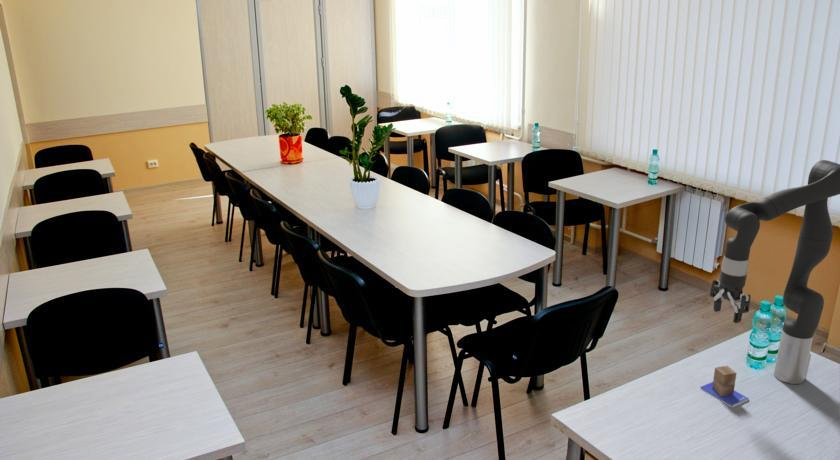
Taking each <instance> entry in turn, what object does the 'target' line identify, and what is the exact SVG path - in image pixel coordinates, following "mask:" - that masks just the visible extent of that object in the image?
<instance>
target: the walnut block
mask: <svg viewBox="0 0 840 460" xmlns="http://www.w3.org/2000/svg"><path fill="white" fill-rule="evenodd" d="M736 380H737V372H736V371H735V370H734V369H732V368H731V367H730V366H728V365H724V366H718V367H715V368H714V373H713V381H712V382H713V387H712V389H713V390H714V391H715V392H717V393H718V394H719V395H720V396H726V395H731V394H734V391H735V385H736Z"/></svg>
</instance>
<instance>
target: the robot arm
mask: <svg viewBox="0 0 840 460" xmlns="http://www.w3.org/2000/svg"><path fill="white" fill-rule="evenodd" d="M838 195H840V163H837V162H835V161H831V160H825V159H821V160H819V161H816V162H815V163H814V164H813V166H812V168H810V172H809V173H808V179H807V184H806V185H801V186H797V187H791V188H785V189H782V190H779V191H775V192H774V193H771V194H769V195H767V196H765V197H763V198H761V199H759V200H755V201H750V202H746V203H742V204H739V205H736V206H734V207H732V208H730V209H729V210H728V211H727V213H726V214H725V217H724V222H725V225H726V226H727V227H728V228H729V229H732V230H734V231H735V232H737V234H736V235H735V236H731V237H729V238H728V239H727V240H726V243H725V250H724V254H723V259H722V261H721V262H722V263H721V268H720V273H719V274H720V275H719V279H713V280H712V282H711V283H712V284H711V287H710V293H709V296H710V297H712V299H713V300H714V302H713V311H714V312H715V313H717V312H720V311H721V309H722V304H723V300H727V301H728V302H730V305H731V306H732V307H733V309H734V313H733V321H732V323H734V324H738V323H740V322H742V317H743V314H745V313H749V311H750V304H751V303H750V302H751V294H749V293H748V294H745V293H744V291H743V289H744V287H745V286H746V282H747V276H748V270H749V258H750V254H751V253H750V252H751V247H752V245H753V243H754V242H755V240H756V238H757V236H758V233H759V231H760V228H761V222H760V221H764V222H769V221H773V220H774V219H777V218H779V217H780V216H783V215H784V214H787V213H788V212H790V211H794V210H796V209H799V208H801V207H804V206H805V207H804V210H803V211H804V212H803V216H802V222H801V227H800V230H799V235H798V239H797V245H796V250H795V256H794V257H793V263H792V267H791V270H790V273H789V276H788V280H787V281H786V284H785V285H786V286H785V289H784V292H783V296H782V301H783V302H782V303H783V306H784V307H785V308H787V309H788V310H790V311H792V312H793V313H795V314H797V317H796V318H795V319H794V318H791V319H787V320H785V321H784V322H783V325H782V331H781V335H780V340H779V346H778V351H777V356H776V360H775V365H774V371H773V376H774V377H775V378H776V379H778V380H779V381H781V382H784V383H787V384H791V385H800V384H802V383H804V382H805V381H804V380H806V379H807V376H808V371H809V367H810V361H811V356H812V354H811V348H812V344H813V340H814V336H815V335H814V334H815V332H816V331H817V329H818V326H819V323H820V320H821V316H822V314H823V309H824V305H825V298H824V296H823V295H822V294H821V293H820V292H818V291H817V290H814V289H812V288H809V287H808V282H809V278H810V275H811V273H812V271H813V270H814V268H816V267H817V266H818V265H819V264H820V263H821V262H823V260H824V259H825V258H827V256H828V255H829V253H830V249H831V245H832V241H833V235H834V230H833V224H832V220H831V216H830V212H829V208H828V200H829V198H832V197H835V196H838ZM737 301H738V302H737Z"/></svg>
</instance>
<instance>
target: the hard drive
mask: <svg viewBox="0 0 840 460" xmlns="http://www.w3.org/2000/svg"><path fill="white" fill-rule="evenodd" d="M712 387H713V381H711V382H710V383H707V384H704V385H702V386H700V388H699V389H700V390H702V391H704V392H705V393H707V394H708V395H710V396H713V397H714V398H716V399H717V400H719V401H720V402H722V403H725V404H726V405H727V406H729V407H731V408H734V407H736V406H738V405H741V404H744V403H745V402H748V401H749V399H750V398H749V397H747V396H745V395H744V394H741V392H740V393H739V391H737V390H734V394H731V395H726V396H720V395H719V394H718V393H717V392H715V391H714V390H713V389H712Z"/></svg>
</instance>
